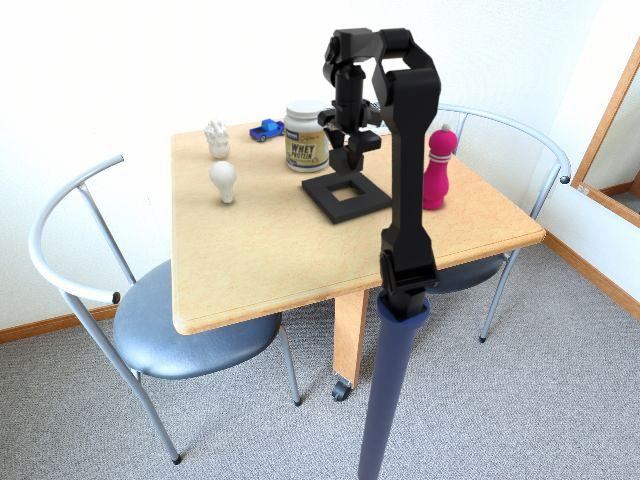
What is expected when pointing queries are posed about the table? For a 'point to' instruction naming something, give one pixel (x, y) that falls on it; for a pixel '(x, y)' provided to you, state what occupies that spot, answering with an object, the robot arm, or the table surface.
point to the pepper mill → (438, 167)
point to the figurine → (217, 138)
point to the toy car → (267, 130)
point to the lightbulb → (223, 179)
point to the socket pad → (351, 207)
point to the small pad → (343, 162)
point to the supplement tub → (305, 136)
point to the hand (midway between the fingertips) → (346, 164)
